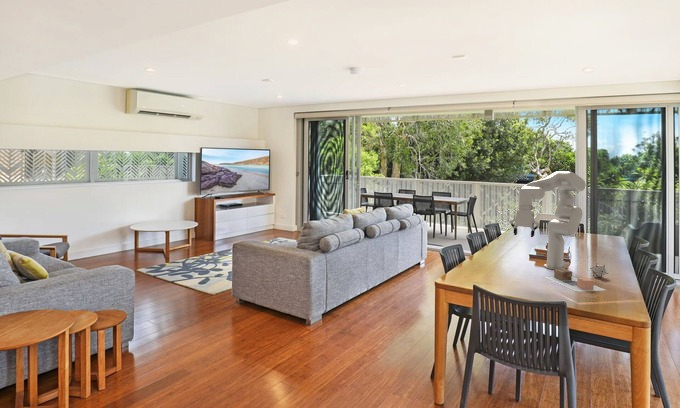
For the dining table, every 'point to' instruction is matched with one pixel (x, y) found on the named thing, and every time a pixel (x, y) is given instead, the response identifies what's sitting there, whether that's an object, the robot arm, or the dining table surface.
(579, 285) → the terracotta block
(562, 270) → the walnut block
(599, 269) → the grey spiky ball
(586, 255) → the dining table surface
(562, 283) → the blueprint board
